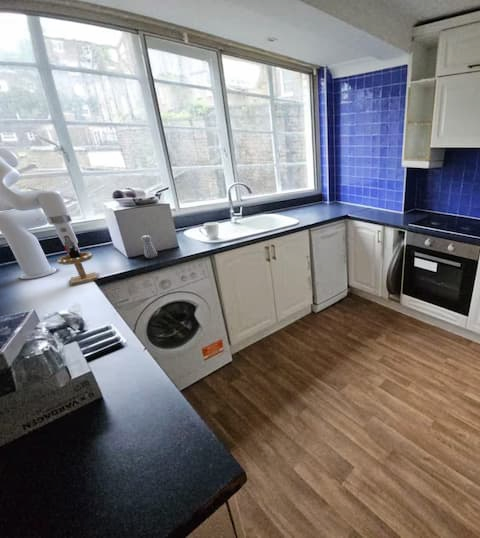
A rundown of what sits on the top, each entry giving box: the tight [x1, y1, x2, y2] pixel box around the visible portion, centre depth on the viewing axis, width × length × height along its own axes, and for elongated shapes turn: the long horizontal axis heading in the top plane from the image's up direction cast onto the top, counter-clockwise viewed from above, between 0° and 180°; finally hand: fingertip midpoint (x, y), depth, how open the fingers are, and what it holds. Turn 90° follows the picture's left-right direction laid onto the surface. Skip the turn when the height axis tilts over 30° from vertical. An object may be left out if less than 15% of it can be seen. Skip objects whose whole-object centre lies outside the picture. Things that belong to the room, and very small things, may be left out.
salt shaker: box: [140, 235, 158, 259], centre depth 160 cm, size 6×6×13 cm
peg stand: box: [70, 262, 99, 287], centre depth 136 cm, size 9×9×10 cm
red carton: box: [63, 243, 81, 255], centre depth 169 cm, size 6×6×12 cm
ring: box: [57, 251, 94, 266], centre depth 134 cm, size 12×12×2 cm
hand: (76, 258), depth 137 cm, fingers closed on ring, 2 cm apart
